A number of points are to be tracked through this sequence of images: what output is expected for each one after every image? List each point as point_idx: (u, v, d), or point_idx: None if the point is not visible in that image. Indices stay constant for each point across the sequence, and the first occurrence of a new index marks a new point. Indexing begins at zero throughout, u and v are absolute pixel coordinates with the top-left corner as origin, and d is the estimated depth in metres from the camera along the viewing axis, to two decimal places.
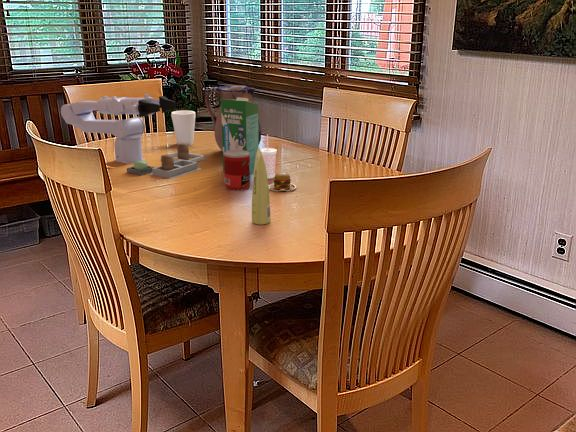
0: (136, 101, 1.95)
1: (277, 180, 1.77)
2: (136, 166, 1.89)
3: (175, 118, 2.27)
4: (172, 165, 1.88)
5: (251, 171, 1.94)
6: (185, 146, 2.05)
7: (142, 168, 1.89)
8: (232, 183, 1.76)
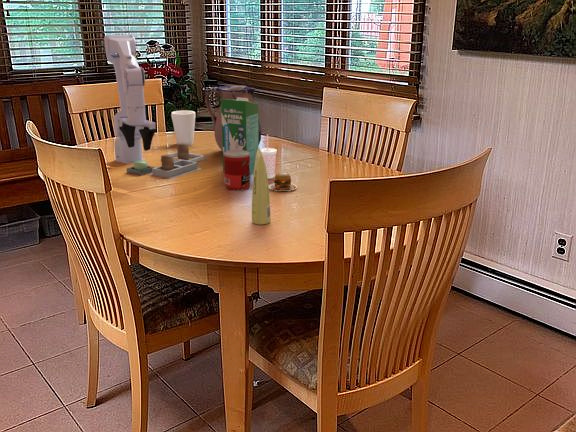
0: (127, 111, 1.85)
1: (277, 180, 1.76)
2: (136, 166, 1.89)
3: (175, 118, 2.27)
4: (172, 165, 1.88)
5: (251, 171, 1.94)
6: (185, 146, 2.05)
7: (142, 168, 1.89)
8: (232, 183, 1.76)
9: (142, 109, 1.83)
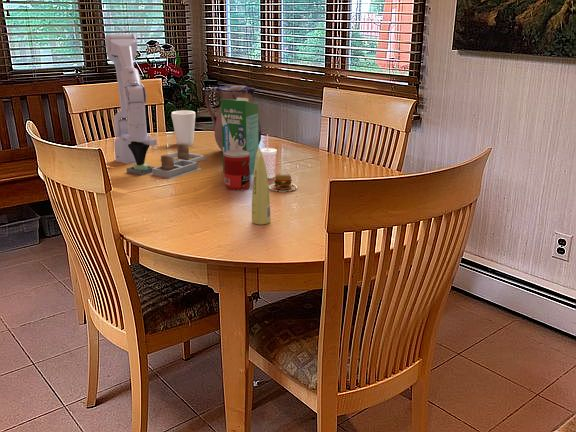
0: (128, 128, 1.86)
1: (278, 180, 1.76)
2: (136, 169, 1.89)
3: (175, 118, 2.27)
4: (172, 165, 1.88)
5: (251, 171, 1.94)
6: (185, 146, 2.05)
7: None
8: (232, 183, 1.76)
9: (143, 126, 1.85)
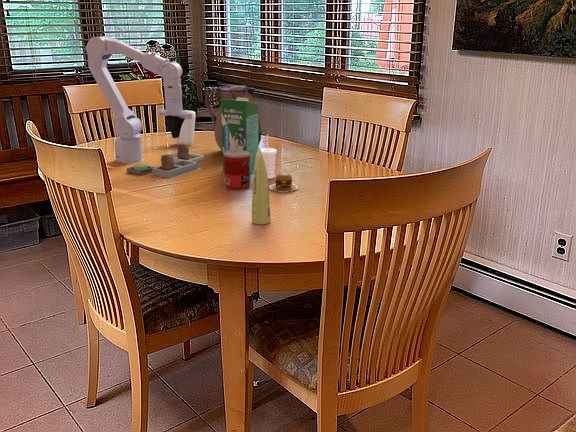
0: (165, 103, 1.98)
1: (278, 180, 1.76)
2: (136, 169, 1.89)
3: None
4: (172, 165, 1.88)
5: (251, 171, 1.94)
6: (185, 146, 2.05)
7: None
8: (232, 183, 1.76)
9: (179, 101, 1.97)
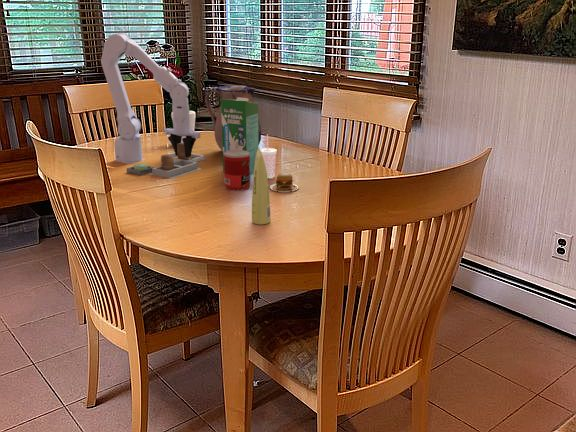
0: (173, 123, 2.03)
1: (279, 180, 1.76)
2: (136, 169, 1.89)
3: None
4: (172, 165, 1.88)
5: (251, 171, 1.94)
6: None
7: None
8: (232, 183, 1.76)
9: (187, 120, 2.02)
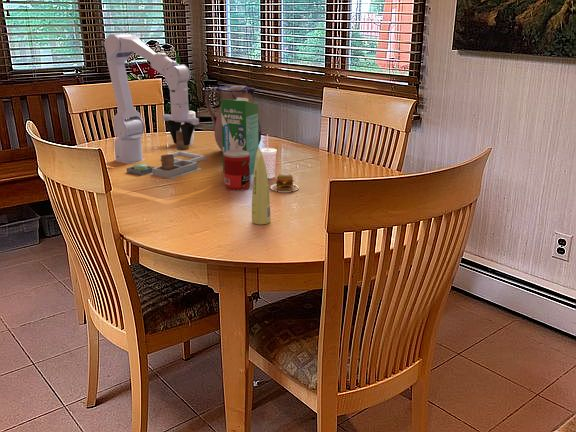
0: (171, 108, 1.89)
1: (279, 180, 1.76)
2: (136, 169, 1.89)
3: None
4: (172, 165, 1.88)
5: (251, 171, 1.94)
6: None
7: None
8: (232, 183, 1.76)
9: (186, 105, 1.87)
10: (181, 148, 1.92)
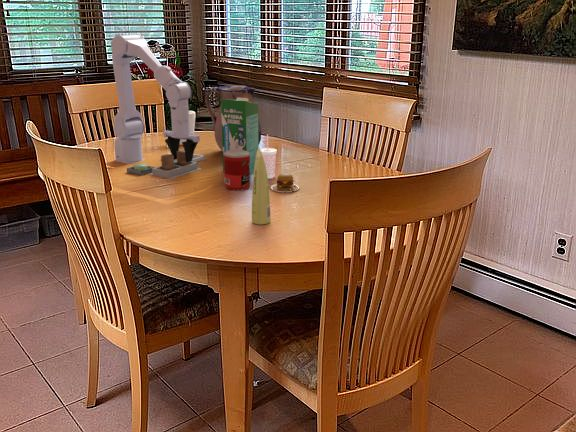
0: None
1: (279, 181, 1.76)
2: (136, 169, 1.89)
3: None
4: (172, 165, 1.88)
5: (251, 171, 1.94)
6: None
7: None
8: (232, 183, 1.76)
9: (187, 122, 1.89)
10: None
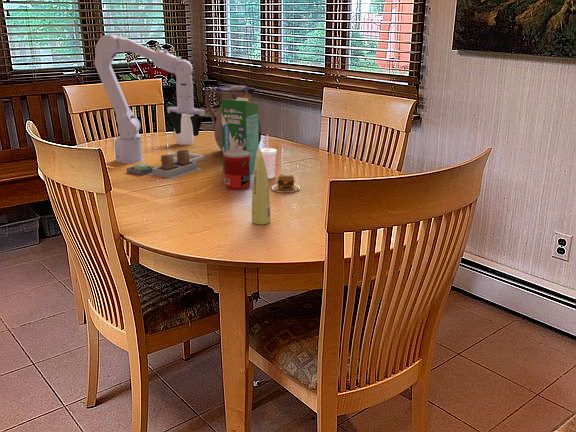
0: (177, 100, 2.01)
1: (280, 181, 1.76)
2: (136, 169, 1.89)
3: None
4: (172, 165, 1.88)
5: (251, 171, 1.94)
6: (185, 154, 1.92)
7: None
8: (232, 183, 1.76)
9: (192, 98, 2.00)
10: None
